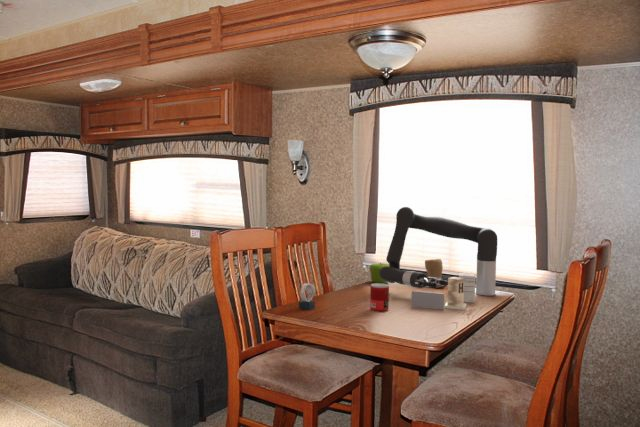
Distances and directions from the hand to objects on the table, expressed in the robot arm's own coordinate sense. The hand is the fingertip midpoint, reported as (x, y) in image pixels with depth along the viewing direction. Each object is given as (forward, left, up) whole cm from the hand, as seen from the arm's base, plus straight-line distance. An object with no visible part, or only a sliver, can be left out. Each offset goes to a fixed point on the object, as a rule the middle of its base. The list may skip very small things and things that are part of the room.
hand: (441, 284), depth 240 cm
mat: (+4, +7, -9) cm, 12 cm away
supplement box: (-12, +10, -9) cm, 18 cm away
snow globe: (+33, -54, -9) cm, 64 cm away
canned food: (+23, -24, -9) cm, 34 cm away
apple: (-42, -39, -9) cm, 58 cm away
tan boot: (-45, -9, -9) cm, 47 cm away
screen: (+11, -5, -9) cm, 15 cm away
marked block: (+4, +7, -8) cm, 11 cm away
